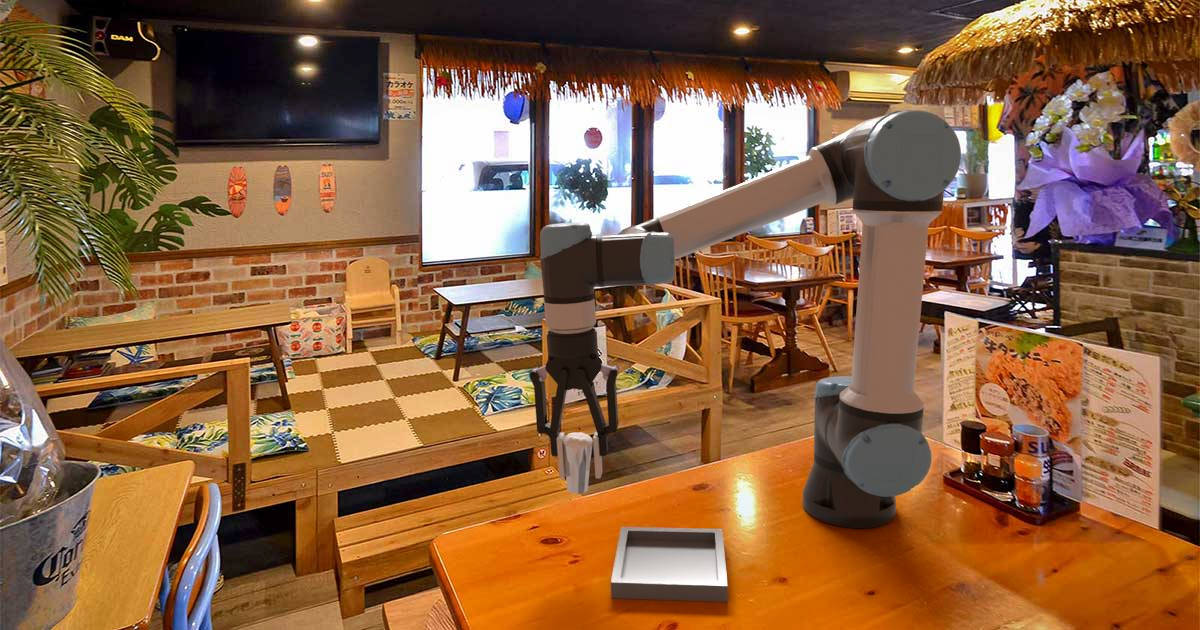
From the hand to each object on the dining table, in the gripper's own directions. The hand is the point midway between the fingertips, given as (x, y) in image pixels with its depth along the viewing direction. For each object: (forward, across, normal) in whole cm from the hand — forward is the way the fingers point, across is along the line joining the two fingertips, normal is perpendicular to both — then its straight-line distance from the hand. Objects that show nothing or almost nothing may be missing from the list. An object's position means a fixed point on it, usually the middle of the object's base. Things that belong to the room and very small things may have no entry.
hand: (581, 474), depth 111 cm
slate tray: (+13, -13, +5) cm, 19 cm away
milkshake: (+3, 0, 0) cm, 3 cm away
